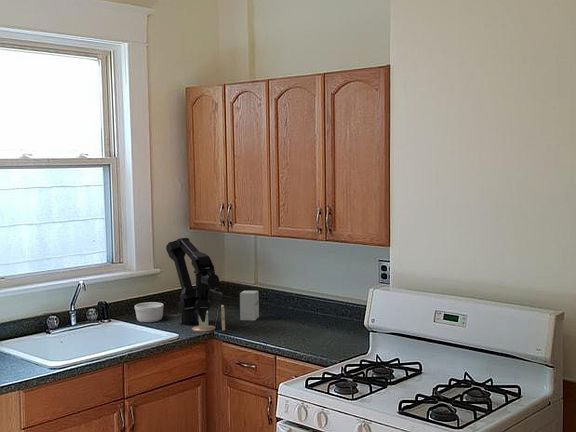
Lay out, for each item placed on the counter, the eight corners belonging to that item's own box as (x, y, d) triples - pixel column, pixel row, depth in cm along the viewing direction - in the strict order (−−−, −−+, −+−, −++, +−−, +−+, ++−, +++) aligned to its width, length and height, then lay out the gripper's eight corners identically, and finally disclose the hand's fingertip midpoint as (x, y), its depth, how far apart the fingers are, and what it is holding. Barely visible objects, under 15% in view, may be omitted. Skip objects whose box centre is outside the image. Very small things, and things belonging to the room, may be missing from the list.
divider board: (225, 330, 323) (224, 309, 323) (222, 330, 323) (221, 309, 323) (224, 325, 333) (223, 305, 333) (221, 325, 333) (221, 305, 332)
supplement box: (255, 320, 341) (255, 293, 340) (239, 320, 343) (239, 293, 341) (259, 317, 348) (258, 290, 347) (244, 316, 350) (243, 290, 349)
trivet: (187, 330, 325) (187, 329, 325) (199, 325, 334) (199, 324, 334) (208, 332, 321) (208, 331, 321) (219, 327, 330) (219, 326, 330)
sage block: (208, 328, 326) (207, 312, 325) (199, 329, 325) (198, 313, 325) (208, 326, 330) (207, 310, 329) (199, 327, 329) (198, 311, 329)
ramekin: (170, 318, 349) (169, 304, 348) (147, 324, 339) (146, 309, 338) (151, 315, 358) (151, 301, 357) (129, 320, 348) (128, 305, 347)
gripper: (221, 287, 317) (222, 323, 319) (220, 280, 336) (221, 314, 337) (195, 288, 316) (196, 324, 317) (195, 281, 335) (196, 315, 336)
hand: (203, 319), depth 327 cm, fingers open, 9 cm apart
